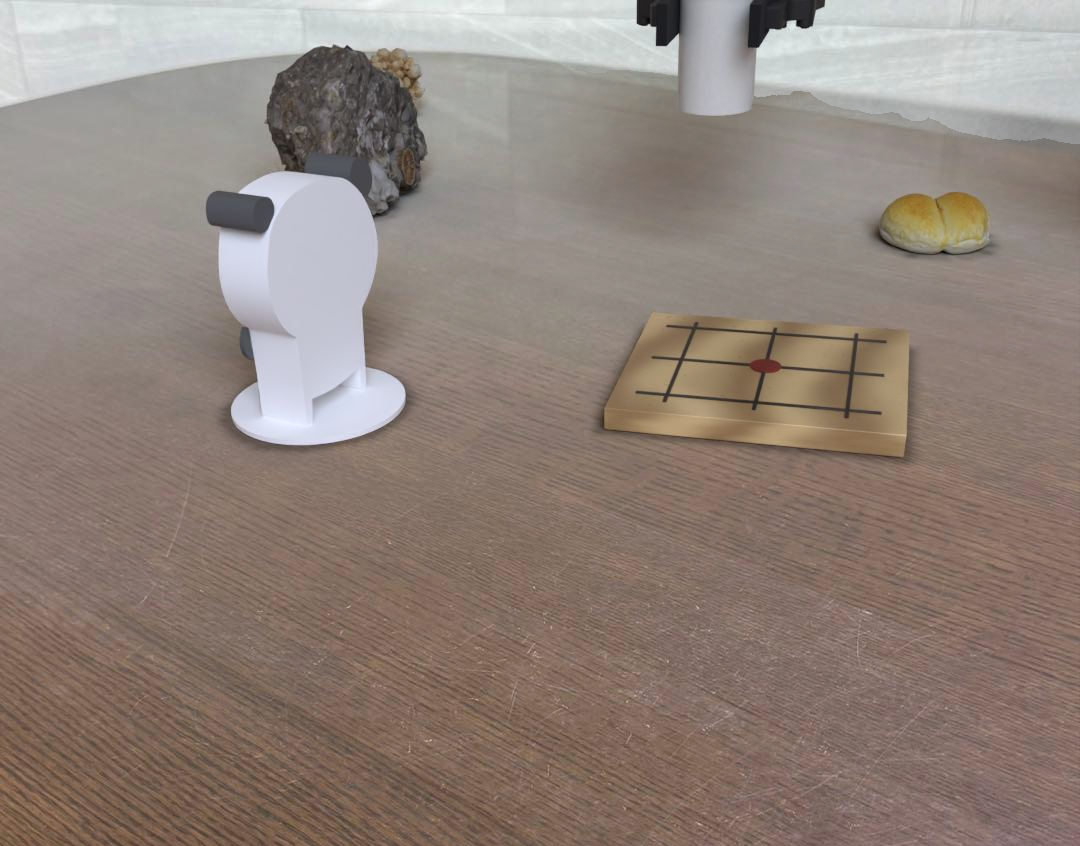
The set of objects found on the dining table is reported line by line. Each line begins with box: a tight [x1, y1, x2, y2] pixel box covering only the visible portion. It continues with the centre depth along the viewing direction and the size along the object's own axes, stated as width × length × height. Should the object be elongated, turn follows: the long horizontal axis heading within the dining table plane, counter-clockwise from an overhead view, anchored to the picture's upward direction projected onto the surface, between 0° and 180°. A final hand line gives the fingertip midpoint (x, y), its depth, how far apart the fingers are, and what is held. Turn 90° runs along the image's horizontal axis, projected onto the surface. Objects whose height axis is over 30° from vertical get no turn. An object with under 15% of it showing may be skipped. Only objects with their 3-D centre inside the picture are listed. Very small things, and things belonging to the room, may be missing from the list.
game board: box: [603, 311, 911, 458], centre depth 79 cm, size 18×16×2 cm
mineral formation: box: [369, 47, 426, 111], centre depth 144 cm, size 8×13×15 cm
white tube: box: [676, 0, 758, 117], centre depth 86 cm, size 6×6×11 cm
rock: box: [263, 43, 429, 216], centre depth 113 cm, size 18×14×15 cm
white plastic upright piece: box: [205, 152, 407, 446], centre depth 75 cm, size 12×11×15 cm
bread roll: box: [878, 191, 991, 255], centre depth 101 cm, size 8×9×4 cm
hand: (707, 25), depth 81 cm, fingers closed on white tube, 6 cm apart
